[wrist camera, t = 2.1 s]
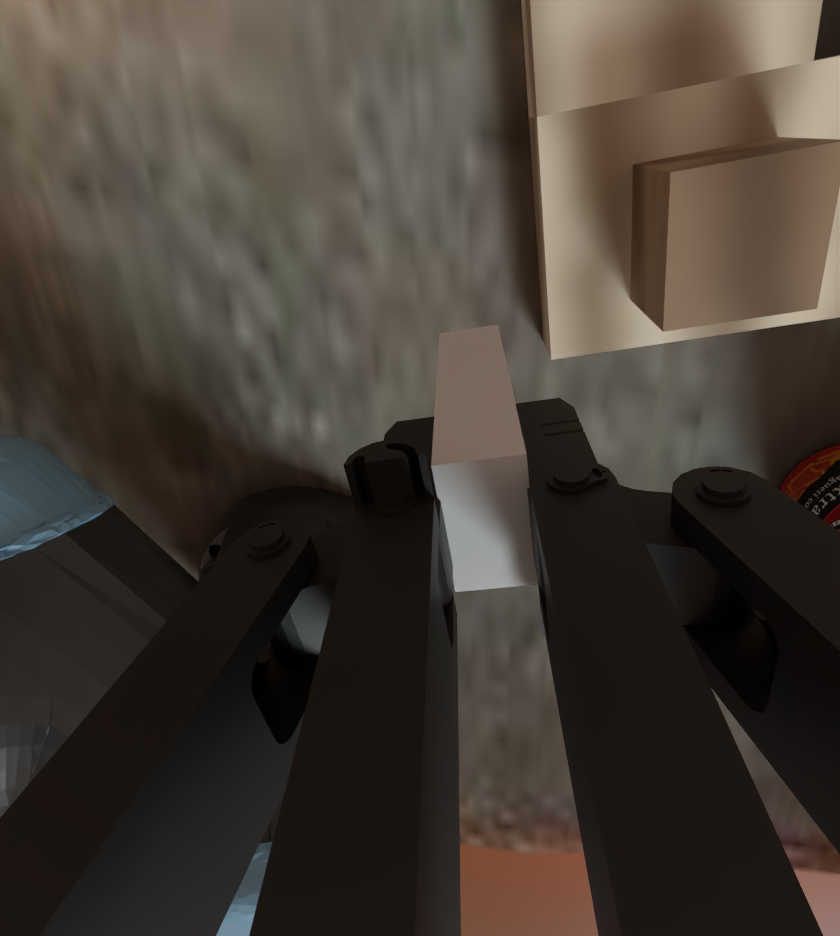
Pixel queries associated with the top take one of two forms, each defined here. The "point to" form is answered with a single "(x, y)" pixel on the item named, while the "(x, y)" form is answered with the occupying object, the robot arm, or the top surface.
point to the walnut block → (733, 231)
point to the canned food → (817, 485)
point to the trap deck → (658, 136)
